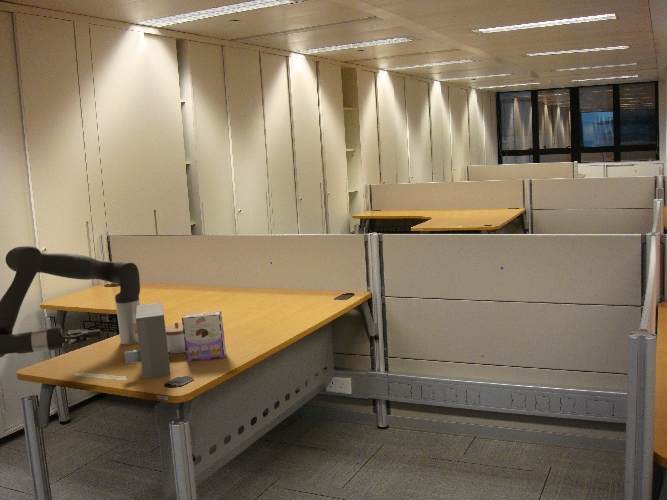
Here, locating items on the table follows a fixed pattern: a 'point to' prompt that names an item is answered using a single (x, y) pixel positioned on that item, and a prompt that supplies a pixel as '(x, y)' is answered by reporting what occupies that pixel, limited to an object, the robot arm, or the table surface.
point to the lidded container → (175, 338)
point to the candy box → (204, 336)
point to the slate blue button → (132, 356)
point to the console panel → (152, 340)
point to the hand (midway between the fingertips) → (100, 332)
